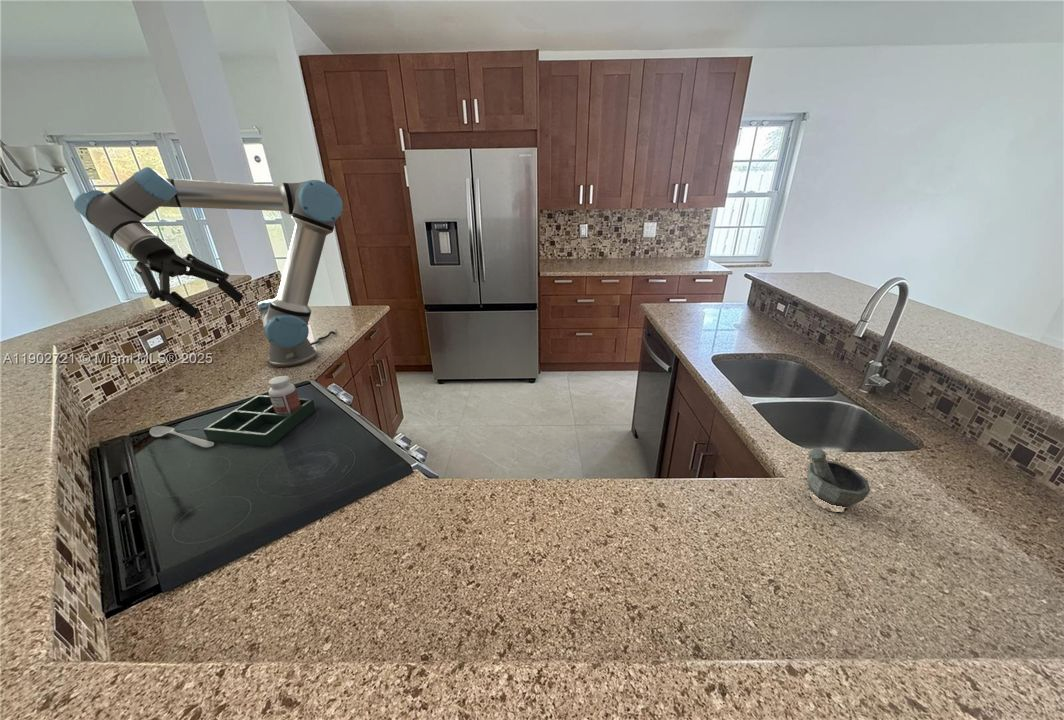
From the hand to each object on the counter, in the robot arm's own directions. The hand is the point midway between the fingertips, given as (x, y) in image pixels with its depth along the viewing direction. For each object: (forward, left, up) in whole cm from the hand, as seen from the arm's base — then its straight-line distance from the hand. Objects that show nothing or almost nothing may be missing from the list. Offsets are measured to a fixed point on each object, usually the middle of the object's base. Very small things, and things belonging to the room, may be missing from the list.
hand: (219, 306), depth 99 cm
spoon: (+19, -3, -30) cm, 35 cm away
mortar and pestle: (+19, +148, -30) cm, 152 cm away
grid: (+10, +13, -30) cm, 34 cm away
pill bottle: (+6, +17, -29) cm, 34 cm away
